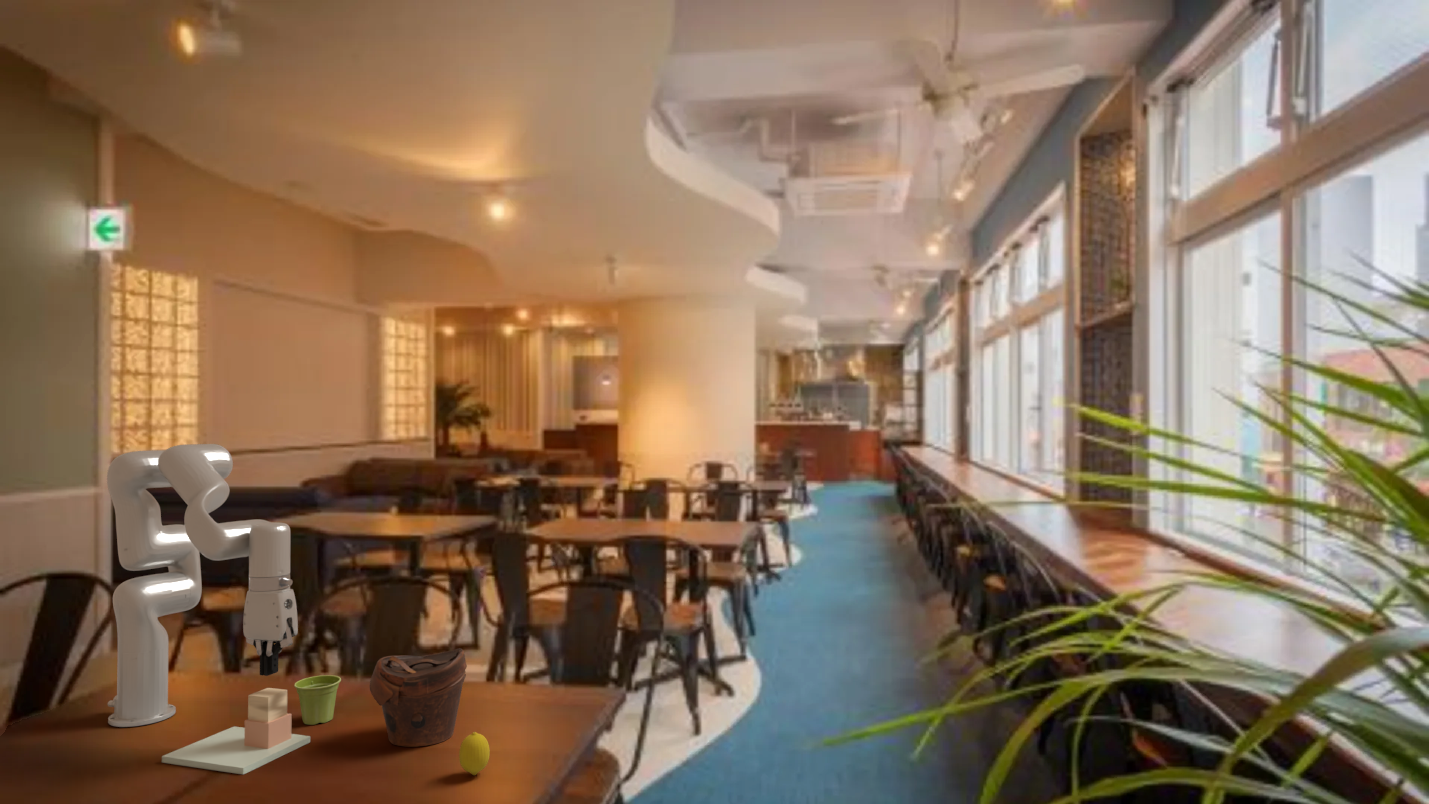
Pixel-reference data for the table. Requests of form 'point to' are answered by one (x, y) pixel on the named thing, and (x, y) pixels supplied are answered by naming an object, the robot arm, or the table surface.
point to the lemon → (474, 753)
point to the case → (419, 696)
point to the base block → (267, 732)
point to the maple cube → (267, 705)
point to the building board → (231, 752)
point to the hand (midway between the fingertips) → (268, 673)
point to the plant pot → (317, 698)
